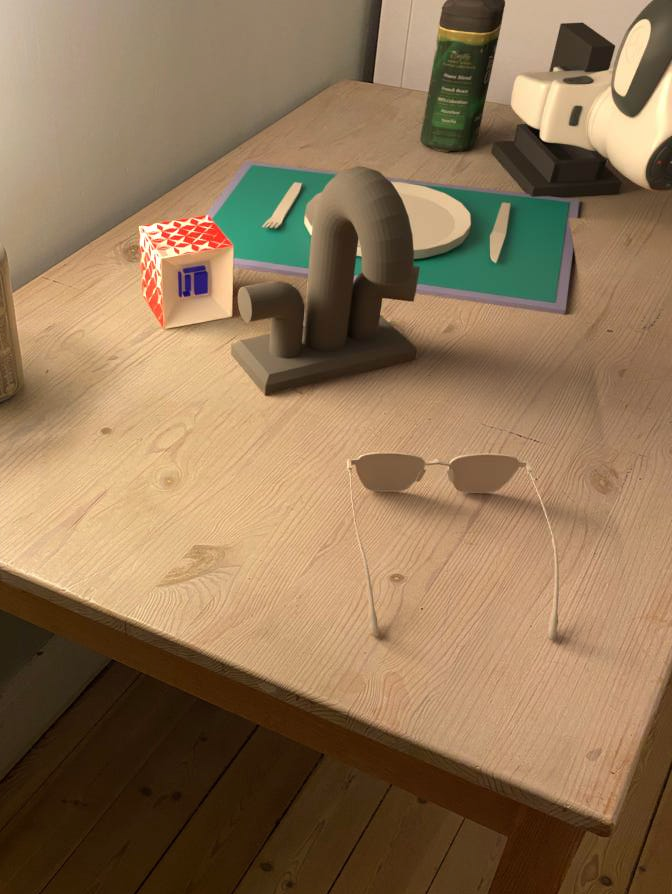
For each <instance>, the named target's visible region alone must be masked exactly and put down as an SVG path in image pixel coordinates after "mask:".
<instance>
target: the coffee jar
mask: <svg viewBox="0 0 672 894" xmlns="http://www.w3.org/2000/svg"><path fill="white" fill-rule="evenodd" d="M505 7H506V0H446V1H444V3H443V4H442V7H441V11H440V16H439V23H438V28H437V29H438V30H437V36H436V43H435V50H434V56H433V62H432V67H431V68H432V69H431V73H430V80H429V86H428V92H427V98H426V103H425V108H424V114H423V120H422V125H421V131H420V137H419V138H420V142H421V144H422V145H423V146H426V147H429V148H431V149H433V150H434V151H439V152H443V153H449V152H452V151H453V152H454V151H457V152H458V151H459V152H465V151H467V150H469V149H470V148H471V147H472V146H473V145H474V144H475V142H476V141H477V139H478V137H479V134H480V131H481V125H482V121H483V115H484V110H485V104H486V100H487V94H488V90H489V85H490V81H491V76H492V70H493V67H494V62H495V56H496V52H497V47H498V42H499V37H500V33H501V28H502V22H503V18H504V11H505Z"/></svg>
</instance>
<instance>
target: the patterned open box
mask: <svg viewBox="0 0 672 894" xmlns="http://www.w3.org/2000/svg"><path fill="white" fill-rule="evenodd" d="M138 236H139V237H138V238H139V239H138V240H139V253H140V255H139V256H140V270H141V271H140V273H141V290H142V293H141V294H142V298H143V299H144V301H145V302H146V303H147V305H148V307H149V308H150V310H151V311H152V313H153V315H154V316H155V318H156V319H157V321H158V323H159V324H160V326H161V328H162V329H163V330H166V329H172V328H179V327H185V326H189V325H194V324H201V323H205V322H211V321H216V320H221V319H227V318H232V317H233V305H234V304H233V302H234V299H233V295H234V294H233V293H234V289H233V288H234V267H233V256H234V246H233V245H232V243H231V242H230V241H229V240H228V239H227V237H226V236H225V235H224V234H223V232H222V231H221V230H220V229H219V228H218V226H217V225H216V224H215V223H214V221H213V220H212V219H211V218H210V216H209V215H207V216H205V215H200V216H194V217H188V218H182V219H175V220H168V221H162V222H156V223H150V224H144V225H143V224H142V225H139V226H138Z"/></svg>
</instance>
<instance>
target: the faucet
mask: <svg viewBox="0 0 672 894" xmlns="http://www.w3.org/2000/svg"><path fill="white" fill-rule="evenodd" d="M338 172H339V173H338V174H337V175H336V176H335V177H334V178H333V179H332V180H331V181H330V182H329V183H328V184H327V185H326V186H325V188H324V190H323V192H322V194H321V196H320V198H319V200H318V202H317V206H316V210H315V213H314V217H313V226H312V236H311V248H310V261H309V273H308V278H307V286H306V296H305V297H306V299H305V301H304V299H303V297H302V295H301V293H300V292H299V290H298V289H297V287H295V286H294V285H293V284H291V283H289V282H286V281H283V280H271V281H266V282H261V283H256V284H250V285H245V286H241V287H240V288H239V290H238V292H237V307H238V311H239V313H240V317H241V318H242V319H241V320H243V321H244V322H245V323H252V322H257V321H261V320H266V319H270V325H269V327H270V328H269V333H267V334H262V335H257V336H253V337H249V338H245V339H241V340H238V341H236V342H233V343H232V344H231V346H230V354H231V357H233V359H235V361H236V362H237V363H238V365H239V366H240V367H241V368H242V369H243V371H244V372H245V373H246V374H247V375H248V377H249V378H250V379H251V380H252V382H253V383H254V384H255V386H257V388H258V389H259V390H260V392H262V394H263V395H264V396H269V395H272V394H277V393H281V392H285V391H288V390H294V389H297V388H301V387H305V386H310V385H314V384H319V383H322V382H326V381H330V380H334V379H339V378H342V377H343V378H344V377H348V376H351V375H355V374H359V373H364V372H368V371H372V370H376V369H379V368H385V367H388V366H392V365H396V364H400V363H405V362H409V361H413V360H416V359H417V354H418V348H417V347H416V346H415V345H414V344H413V343H412V342H411V341H410V340H409V339H408V338H406V337H405V336H404V335H403V334H402V333H401V332H400V331H399V330H397V328H396V327H394V326H393V325H392V324H391V322H389V321H388V320H387V319H386V318H385V317H384V316H383V315H381V311H382V304H383V299H386V300H387V299H388V300H394V301H395V300H396V301H404V302H414V300H415V297H416V288H417V282H418V276H419V269H420V266H413V262H414V249H413V235H412V230H411V226H410V221H409V216H408V214H407V211H406V208H405V206H404V203H403V200H402V198H401V197H400V195H399V194H398V192H397V190H396V189H395V187H394V186H393V184H392V183H391V182H390V181H389V180H388V179H387V178H385V177H386V176H385V175H383V174H382V172H380V171H378V170H376V169H373V168H370V167H367V166H355V167H350V168H347V169H343V170H341V171H338ZM358 239H359V242H360V246H361V254H362V272H361V273H360V274H359V275H358V276H357V278H356V279H355V281H354V272H355V264H356V255H357V247H358ZM353 281H354V282H353ZM304 302H305V303H304Z"/></svg>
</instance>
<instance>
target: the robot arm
mask: <svg viewBox="0 0 672 894" xmlns="http://www.w3.org/2000/svg"><path fill="white" fill-rule="evenodd" d="M620 42H621V43H620V45H619V48H618V50H617V54H616V56H615V60H614V64H613V67H610V68H609V70H607V71H598V72H585V71H583V70H579V71H570V69H568V68H567V67H554V69H553V72H549V71H539V72H538V71H537V72H521V73H519V74H518V75H517V76H516V78H515V79H514V83H513V87H512V91H511V92H512V93H511V96H510V107H511V109H512V110H513V112H514V113H515V114H516V115H517V116H518V117H519V118H520V119H521V120H522V121H523V122H524V123H525V124H528V125H530V126H531V127H533V128H536V129H539V130H540V138H541V139H542V140H543V141H545V142H549V143H556V144H565V145H574V146H578V147H582V148H585V149H588V150H591V151H597V152H598V153H599V154H601V155H602V156H603V157H604V158H605V159H608V160H609V162H610V164H611V165H612V167H614V168H615V170H617V171H618V172H619V173H620V174H621V175H622V176H624V177H625V178H627V180H629V181H630V182H632V183H634V184H635V185H637V186H639V187H640V188H643V189H646V190H648V191H652V192H665V191H672V0H651V1H650V2H649V3H648V4H647V5H646V6H645V7H644V8H643V9H642V10H641V11H640V12H639V14H638V15H637V16H636V17H635V19H634V20H633V22H632V23H631V24H630V25H629V27H628V28H627V30H626V32H625V33H624V36H623V38H622V39H621V41H620Z"/></svg>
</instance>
